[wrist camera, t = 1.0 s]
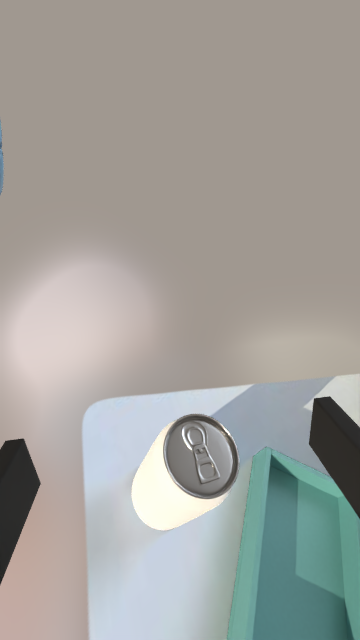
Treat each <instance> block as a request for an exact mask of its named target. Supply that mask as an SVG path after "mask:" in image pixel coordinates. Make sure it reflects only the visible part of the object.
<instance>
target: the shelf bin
mask: <svg viewBox="0 0 360 640" xmlns="http://www.w3.org/2000/svg"><path fill="white" fill-rule="evenodd" d="M227 640H360V518H359V517H358V516H357V514H356V513H355V511H354V510H353V508H352V507H351V505H350V504H349V502H348V501H347V499H346V498H345V496H344V495H343V493H342V492H341V490H340V489H339V488H338V486H337V485H336V483H335V482H334V480H333V479H332V478H331V477H329V476H327V475H325V474H323V473H321V472H319V471H317V470H315V469H313V468H311V467H309V466H306V465H304V464H302V463H300V462H298V461H296V460H294V459H292V458H290V457H288V456H286V455H283V454H281V453H279V452H277V451H275V450H273V449H271V448H269V447H266V448H264V449H263V450H261V451H260V452H258V453H257V454H256V455H254V456H253V462H252V469H251V476H250V483H249V490H248V497H247V504H246V511H245V518H244V524H243V531H242V538H241V545H240V552H239V559H238V566H237V573H236V580H235V586H234V593H233V600H232V607H231V614H230V621H229V628H228V635H227Z"/></svg>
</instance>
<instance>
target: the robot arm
mask: <svg viewBox="0 0 360 640" xmlns="http://www.w3.org/2000/svg"><path fill="white" fill-rule="evenodd" d="M1 147H2V132H1V121H0V194H1V192H2V188H3V153H2V149H1ZM309 445H310V446H311V448H312V449H313V451H314V452H315V454H316V455H317V457H318V458H319V459H320V461H321V462H322V464H323V465H324V467H325V468H326V470H327V471H328V473H329V474H330V476H331V477H332V479H333V480H334V482H335V483H336V485H337V486H338V488H339V489H340V490H341V492H342V493H343V495H344V496H345V498H346V499H347V501H348V502H349V504H350V505H351V507H352V508H353V510H354V511H355V513H356V514H357V516H358V517H359V518H360V427H359V426H358V425H357V424H356V423H355V422H354V421H353V420H352V419H351V418H350V417H349V416H348V415H347V414H346V413H345V412H344V411H343V410H342V409H341V407H340V406H339V405H338V404H337V403H336V402H335V401H334V400H333V399H332V398H331V397H330V396H329V397H322V398H315V399H314V403H313V412H312V421H311V430H310V439H309ZM39 486H40V480H39V478H38V475H37V473H36V470H35V467H34V465H33V462H32V459H31V457H30V454H29V451H28V449H27V446H26V444H25V441H24V439H17V440H9V441H5V443H4V444H3V446H2V447H1V449H0V584H1V581H2V579H3V577H4V574H5V571H6V569H7V567H8V564H9V562H10V559H11V557H12V554H13V552H14V549H15V547H16V544H17V542H18V539H19V537H20V534H21V531H22V529H23V526H24V524H25V521H26V519H27V516H28V514H29V511H30V509H31V506H32V504H33V501H34V499H35V496H36V494H37V491H38V488H39Z"/></svg>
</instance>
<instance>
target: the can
mask: <svg viewBox="0 0 360 640" xmlns="http://www.w3.org/2000/svg"><path fill="white" fill-rule="evenodd" d="M238 471H239V453H238V449H237V446H236V443H235V441H234V439H233V437H232V435H231V434H230V432H229V431H228V430H227V429H226V428H225V427H224V426H223V425H222V424H221V423H220V422H219V421H217V420H215V419H214V418H212V417H209V416H207V415H202V414H190V415H186V416H183V417H181V418H180V419H177V420H175V421H173V422H171V423H170V424H168V425H167V426H166V427H165V428H164V429H163V430H162V431H161V433H160V434H159V435H158V437H157V438H156V440H155V442H154V443H153V445H152V447H151V448H150V450H149V452H148V453H147V455H146V457H145V458H144V460H143V462H142V463H141V465H140V467H139V469H138V471H137V472H136V475H135V477H134V480H133V484H132V501H133V505H134V508H135V510H136V512H137V514H138V516H139V517H140V518H141V520H142V521H143V522H144V523H146V524H147V525H148V526H150V527H152V528H154V529H157V530H170V529H174V528H176V527H178V526H180V525H182V524H184V523H186V522H188V521H190V520H192V519H194V518H196V517H198V516H200V515H202V514H204V513H206V512H208V511H209V510H211V509H213V508H215V507H216V506H218V505H219V504H220V503H221V502H222V501H224V499H225V498H226V497H227V496H228V494H229V493H230V491H231V489H232V487H233V484H234V482H235V480H236V478H237V475H238Z"/></svg>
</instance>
